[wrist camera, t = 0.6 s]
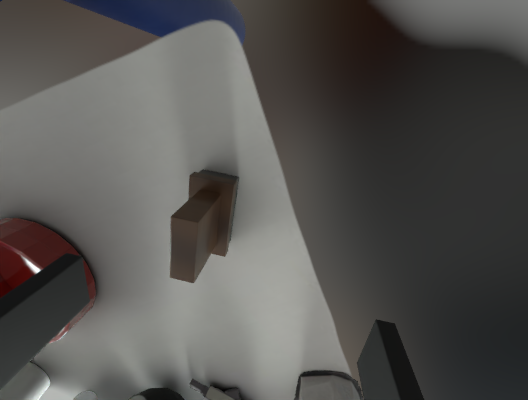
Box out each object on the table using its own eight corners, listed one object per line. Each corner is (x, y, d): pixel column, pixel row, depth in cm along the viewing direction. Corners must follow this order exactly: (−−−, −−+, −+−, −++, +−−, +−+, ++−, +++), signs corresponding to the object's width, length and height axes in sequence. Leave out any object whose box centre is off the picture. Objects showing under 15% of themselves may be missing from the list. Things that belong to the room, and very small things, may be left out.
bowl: (-29, 204, 34) (-80, 221, 30) (92, 232, 33) (58, 254, 29) (2, 300, 41) (-35, 326, 37) (103, 326, 40) (77, 357, 35)
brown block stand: (201, 166, 27) (156, 199, 19) (241, 175, 27) (213, 211, 19) (196, 234, 31) (157, 285, 23) (232, 242, 31) (205, 297, 22)
